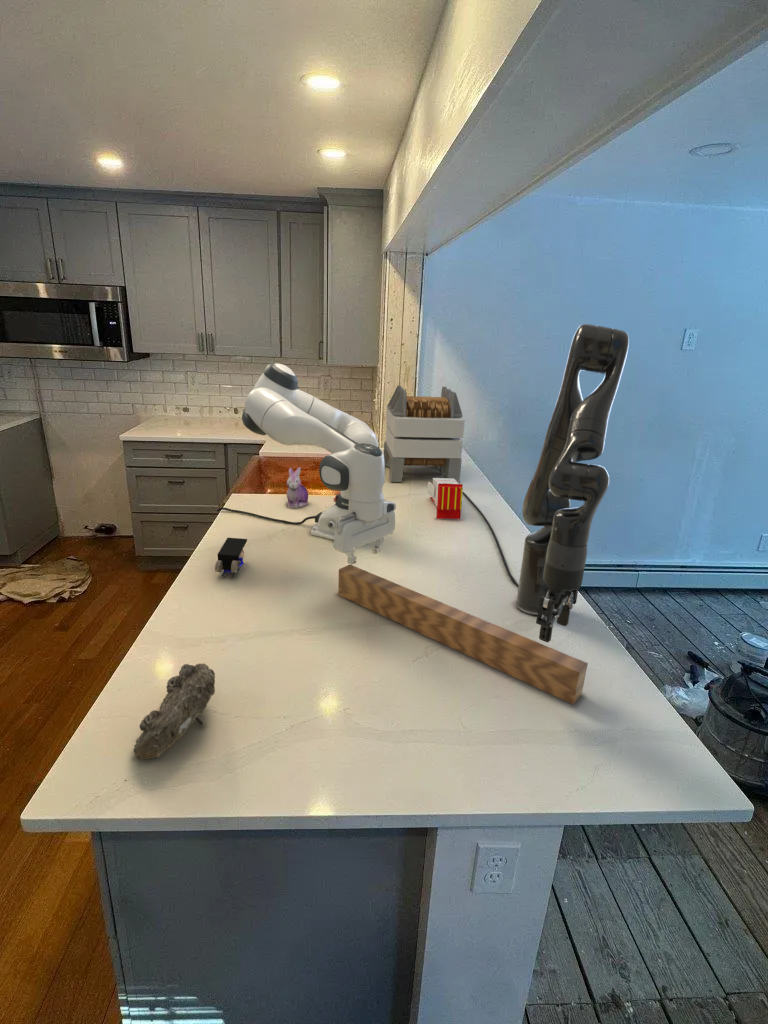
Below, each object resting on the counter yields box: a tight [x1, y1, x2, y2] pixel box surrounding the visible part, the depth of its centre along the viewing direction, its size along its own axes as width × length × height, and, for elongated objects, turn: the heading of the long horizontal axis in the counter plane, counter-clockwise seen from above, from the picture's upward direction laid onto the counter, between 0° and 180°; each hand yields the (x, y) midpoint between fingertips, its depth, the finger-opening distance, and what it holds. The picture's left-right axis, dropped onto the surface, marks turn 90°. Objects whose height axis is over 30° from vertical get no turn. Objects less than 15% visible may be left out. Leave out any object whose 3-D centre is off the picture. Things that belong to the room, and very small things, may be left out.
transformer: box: [383, 384, 465, 484], centre depth 268 cm, size 34×33×41 cm
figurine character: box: [214, 537, 248, 578], centre depth 166 cm, size 7×8×15 cm
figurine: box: [286, 466, 309, 509], centre depth 221 cm, size 9×10×15 cm
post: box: [337, 564, 588, 706], centre depth 136 cm, size 67×4×8 cm, turn 50°
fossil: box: [133, 663, 216, 760], centre depth 105 cm, size 22×10×15 cm
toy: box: [427, 477, 464, 520], centre depth 227 cm, size 12×13×30 cm
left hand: (364, 557), depth 149 cm, fingers open, 8 cm apart
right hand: (553, 632), depth 118 cm, fingers open, 8 cm apart
